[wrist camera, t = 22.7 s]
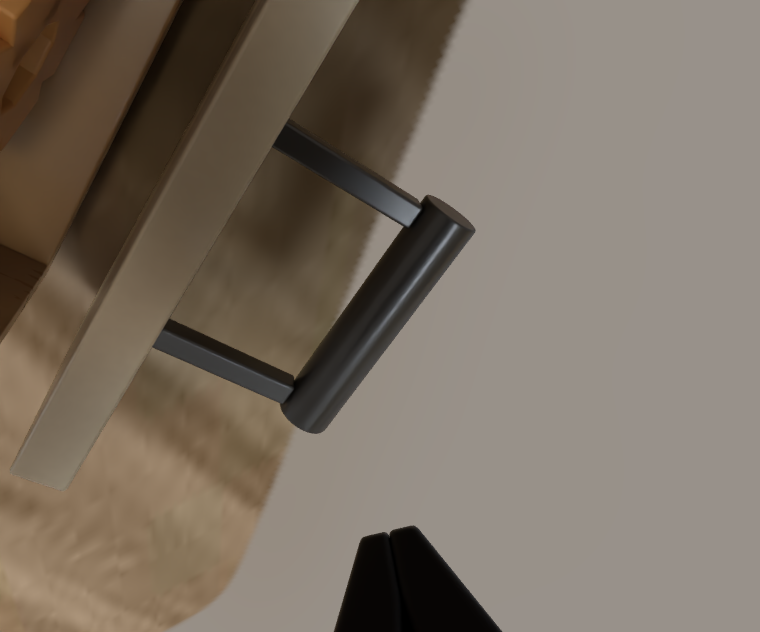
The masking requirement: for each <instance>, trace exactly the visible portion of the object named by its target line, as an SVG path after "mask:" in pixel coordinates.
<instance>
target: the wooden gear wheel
mask: <svg viewBox="0 0 760 632" xmlns="http://www.w3.org/2000/svg"><path fill="white" fill-rule="evenodd" d="M89 1H90V0H0V152H1V151H2V150H3V149H4V147H5V146H6V144H7V143H8V142H9V140H10V139H11V137H12V136H13V135H14V133H15V132H16V130H17V129H18V128H19V126H20V125H21V123H22V122H23V121H24V119H25V118H26V116H27V115H28V114H29V112H30V111H31V109H32V108H33V107H34V105H35V104H36V102H37V101H38V98H39V94H40V89H41V85H42V82H43V81H44V80H46V79H47V78H49V77H50V76H52V75H53V74H54V73H55V71H56V69H57V68H58V66H59V64H60V62H61V60H62V58H63V56H64V54H65V53H66V51H67V49H68V47H69V45H70V43H71V41H72V39H73V38H74V36H75V34H76V32H77V30H78V28H79V26H80V24H81V23H82V21H83V19H84V16H85V13H84V12H83V11H82V10H83V9H84V8H85V6H86V5H87V4H88V2H89Z"/></svg>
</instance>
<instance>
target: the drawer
mask: <svg viewBox="0 0 760 632" xmlns="http://www.w3.org/2000/svg"><path fill="white" fill-rule="evenodd" d="M182 2H183V0H90V1H89V2H88V4H87V5H86V6H85V8H84V9H83V10H82V11H83V12H84V13H85V16H84V19H83V21H82V23H81V24H80V26H79V28H78V30H77V32H76V34H75V36H74V38H73V39H72V41H71V43H70V45H69V47H68V49H67V51H66V53H65V54H64V56H63V58H62V60H61V62H60V64H59V66H58V68H57V69H56V71H55V73H54V74H53V75H52V76H50V77H49V78H47V79H46V80H44V81H43V82H42V85H41V89H40V94H39V98H38V101H37V102H36V104H35V105H34V107H33V108H32V109H31V111H30V112H29V114H28V115H27V116H26V118H25V119H24V121H23V122H22V123H21V125H20V126H19V128H18V129H17V130H16V132H15V133H14V135H13V136H12V137H11V139H10V140H9V142H8V143H7V144H6V146H5V147H4V149H3V150H2V151H1V152H0V343H1V342H2V340H3V339H4V337H5V336H6V334H7V333H8V331H9V330H10V328H11V327H12V325H13V324H14V322H15V321H16V319H17V318H18V316H19V315H20V313H21V312H22V310H23V309H24V307H25V306H26V304H27V303H28V301H29V300H30V298H31V297H32V295H33V294H34V292H35V291H36V289H37V288H38V286H39V284H40V283H41V282H42V280H43V279H44V277H45V276H46V274H47V272H48V270H49V268H50V266H51V264H52V262H53V260H54V258H55V256H56V254H57V252H58V250H59V248H60V246H61V244H62V242H63V240H64V238H65V236H66V234H67V232H68V230H69V228H70V226H71V224H72V222H73V220H74V218H75V216H76V214H77V212H78V210H79V208H80V206H81V204H82V202H83V200H84V198H85V196H86V194H87V192H88V190H89V188H90V186H91V184H92V182H93V180H94V178H95V176H96V174H97V172H98V170H99V168H100V166H101V164H102V162H103V160H104V158H105V156H106V154H107V152H108V150H109V148H110V146H111V144H112V142H113V140H114V138H115V136H116V134H117V132H118V130H119V128H120V126H121V124H122V122H123V120H124V118H125V116H126V114H127V112H128V110H129V108H130V106H131V104H132V102H133V100H134V98H135V96H136V94H137V92H138V90H139V88H140V86H141V84H142V82H143V80H144V78H145V76H146V74H147V72H148V70H149V68H150V66H151V64H152V62H153V60H154V58H155V56H156V54H157V52H158V50H159V48H160V46H161V44H162V42H163V40H164V38H165V36H166V34H167V32H168V30H169V28H170V26H171V24H172V22H173V20H174V18H175V16H176V14H177V12H178V10H179V8H180V6H181V4H182ZM358 2H359V0H255V2H254V4H253V6H252V8H251V9H250V11H249V13H248V15H247V17H246V19H245V21H244V22H243V24H242V26H241V28H240V30H239V32H238V34H237V35H236V37H235V39H234V41H233V43H232V45H231V46H230V48H229V50H228V52H227V54H226V56H225V58H224V59H223V61H222V63H221V65H220V67H219V69H218V71H217V72H216V74H215V76H214V78H213V80H212V82H211V84H210V85H209V87H208V89H207V91H206V93H205V95H204V96H203V98H202V100H201V102H200V104H199V106H198V108H197V109H196V111H195V113H194V115H193V117H192V119H191V121H190V122H189V124H188V126H187V128H186V130H185V132H184V134H183V135H182V137H181V139H180V141H179V143H178V145H177V146H176V148H175V150H174V152H173V154H172V156H171V158H170V159H169V161H168V163H167V165H166V167H165V169H164V171H163V172H162V174H161V176H160V178H159V180H158V182H157V184H156V185H155V187H154V189H153V191H152V193H151V195H150V196H149V198H148V200H147V202H146V204H145V206H144V208H143V209H142V211H141V213H140V215H139V217H138V219H137V221H136V222H135V224H134V226H133V228H132V230H131V232H130V233H129V235H128V237H127V239H126V241H125V243H124V245H123V246H122V248H121V250H120V252H119V254H118V256H117V258H116V259H115V261H114V263H113V265H112V267H111V269H110V271H109V272H108V274H107V276H106V278H105V280H104V282H103V283H102V285H101V287H100V289H99V291H98V293H97V295H96V296H95V298H94V300H93V302H92V304H91V306H90V308H89V309H88V311H87V313H86V315H85V317H84V319H83V321H82V323H81V325H80V327H79V329H78V332H77V334H76V336H75V338H74V340H73V342H72V344H71V346H70V348H69V350H68V352H67V354H66V356H65V358H64V360H63V362H62V364H61V366H60V368H59V370H58V372H57V374H56V376H55V378H54V380H53V382H52V384H51V387H50V389H49V391H48V393H47V395H46V397H45V399H44V401H43V403H42V405H41V407H40V409H39V411H38V413H37V415H36V417H35V419H34V421H33V423H32V425H31V427H30V429H29V431H28V433H27V435H26V437H25V439H24V442H23V444H22V446H21V448H20V450H19V452H18V454H17V456H16V458H15V460H14V462H13V464H12V466H11V468H10V473H11V474H12V475H15V476H18V477H21V478H24V479H27V480H30V481H33V482H36V483H39V484H42V485H45V486H48V487H51V488H54V489H57V490H60V491H65V490H66V489H67V488H68V487H69V485H70V484H71V482H72V480H73V478H74V477H75V475H76V473H77V472H78V470H79V468H80V467H81V465H82V463H83V462H84V460H85V458H86V457H87V455H88V453H89V452H90V450H91V448H92V447H93V445H94V443H95V442H96V440H97V438H98V437H99V435H100V433H101V432H102V430H103V428H104V427H105V425H106V423H107V422H108V420H109V418H110V417H111V415H112V413H113V412H114V410H115V408H116V407H117V405H118V403H119V402H120V400H121V398H122V396H123V395H124V393H125V391H126V390H127V388H128V386H129V385H130V383H131V381H132V380H133V378H134V376H135V375H136V373H137V371H138V370H139V368H140V366H141V365H142V363H143V361H144V360H145V358H146V356H147V355H148V353H149V351H150V350H151V348H152V347H153V348H155V349H158V350H160V351H162V352H164V353H167V354H169V355H171V356H174V357H176V358H178V359H180V360H183V361H185V362H187V363H190V364H192V365H194V366H196V367H199V368H201V369H203V370H206V371H208V372H210V373H212V374H215V375H217V376H219V377H222V378H224V379H226V380H228V381H231V382H233V383H235V384H238V385H240V386H242V387H244V388H247V389H249V390H251V391H254V392H256V393H258V394H260V395H263V396H265V397H267V398H270V399H272V400H274V401H276V402H279V403H280V407H281V410H282V412H283V414H284V415H285V417H286V418H287V419H288V420H289V421H290V422H291V423H292V424H294V425H295V426H296V427H298V428H300V429H301V430H303V431H306V432H309V433H314V434H317V433H321V432H323V431H324V430H325V429H326V428H327V427H328V425H329V424H330V423H331V421H332V420H333V419H334V417H335V416H336V415H337V413H338V412H339V410H340V409H341V408H342V407H343V405H344V404H345V403H346V402H347V400H348V399H349V397H350V396H351V395H352V394H353V392H354V391H355V390H356V388H357V387H358V386H359V384H360V383H361V382H362V380H363V379H364V378H365V377H366V375H367V374H368V373H369V371H370V370H371V369H372V367H373V366H374V365H375V363H376V362H377V361H378V359H379V358H380V357H381V355H382V354H383V353H384V351H385V350H386V349H387V347H388V346H389V345H390V344H391V342H392V341H393V340H394V338H395V337H396V336H397V334H398V333H399V332H400V330H401V329H402V328H403V326H404V325H405V324H406V322H407V321H408V320H409V319H410V317H411V316H412V315H413V313H414V312H415V311H416V309H417V308H418V307H419V305H420V304H421V303H422V301H423V300H424V299H425V297H426V296H427V295H428V293H429V292H430V291H431V290H432V288H433V287H434V286H435V284H436V283H437V282H438V280H439V279H440V278H441V276H442V275H443V274H444V272H445V271H446V270H447V268H448V267H449V266H450V265H451V263H452V262H453V261H454V259H455V258H456V257H457V255H458V254H459V253H460V251H461V250H462V249H463V247H464V246H465V245H466V243H467V242H468V241H469V240H470V238H471V237H472V236H473V234H474V233H475V228H474V227H473V225H472V224H471V223H470V222H469V221H468V220H467V219H466V218H465V217H463V216H462V215H461V214H460V213H459V212H458V211H456V210H455V209H454V208H452V207H451V206H449V205H448V204H446V203H445V202H443V201H442V200H440V199H438V198H436V197H434V196H431V195H426V196H425V197H424V199H423V200H422V201H421V203H419V201H418V199H416V198H415V197H413V196H412V195H410V194H409V193H407V192H405V191H403V190H402V189H401V188H399V187H397V186H396V185H394V184H393V183H391V182H389V181H388V180H386V179H385V178H383V177H382V176H380V175H378V174H377V173H375V172H374V171H372V170H370V169H369V168H367V167H366V166H364V165H362V164H361V163H359V162H358V161H356V160H355V159H353V158H351V157H350V156H348V155H347V154H345V153H343V152H342V151H340V150H339V149H337V148H335V147H334V146H332V145H331V144H329V143H328V142H326V141H324V140H323V139H321V138H320V137H318V136H316V135H315V134H313V133H312V132H310V131H308V130H307V129H305V128H304V127H302V126H301V125H299V124H297V123H296V122H294V121H293V120H291V119H289V117H290V115H291V114H292V112H293V110H294V109H295V107H296V105H297V104H298V102H299V100H300V99H301V97H302V95H303V94H304V92H305V90H306V89H307V87H308V85H309V84H310V82H311V80H312V79H313V77H314V75H315V74H316V72H317V70H318V68H319V67H320V65H321V63H322V62H323V60H324V58H325V57H326V55H327V53H328V52H329V50H330V48H331V47H332V45H333V43H334V42H335V40H336V38H337V37H338V35H339V33H340V32H341V30H342V28H343V27H344V25H345V23H346V22H347V20H348V18H349V17H350V15H351V13H352V12H353V10H354V8H355V7H356V5H357V3H358ZM271 147H273V148H275V149H276V150H278V151H280V152H281V153H283V154H284V155H286V156H288V157H289V158H291V159H293V160H294V161H296V162H298V163H299V164H301V165H303V166H304V167H306V168H308V169H309V170H311V171H313V172H314V173H316V174H318V175H319V176H321V177H323V178H324V179H326V180H328V181H329V182H331V183H333V184H334V185H336V186H337V187H339V188H341V189H342V190H344V191H346V192H347V193H349V194H351V195H352V196H354V197H356V198H357V199H359V200H361V201H362V202H364V203H366V204H367V205H369V206H371V207H372V208H374V209H376V210H377V211H379V212H381V213H382V214H384V215H385V216H387V217H389V218H390V219H392V220H394V221H395V222H397V223H399V224H401V225H402V226H404V227H403V228H402V230H401V231H400V233H399V234H398V235H397V237H396V238H395V239H394V241H393V242H392V244H391V245H390V247H389V248H388V249H387V251H386V252H385V253H384V255H383V256H382V258H381V259H380V260H379V262H378V263H377V265H376V266H375V268H374V269H373V270H372V272H371V273H370V275H369V276H368V277H367V279H366V280H365V282H364V283H363V284H362V286H361V287H360V289H359V290H358V291H357V293H356V294H355V296H354V297H353V298H352V300H351V301H350V303H349V304H348V305H347V307H346V308H345V310H344V311H343V312H342V314H341V315H340V317H339V318H338V319H337V321H336V322H335V324H334V325H333V327H332V328H331V329H330V331H329V332H328V334H327V335H326V336H325V338H324V339H323V341H322V342H321V343H320V345H319V346H318V348H317V349H316V350H315V352H314V353H313V355H312V356H311V357H310V359H309V360H308V362H307V363H306V364H305V366H304V367H303V369H302V370H301V371H300V373H299V374H298V376H297V377H296V379H295V380H294V376H293V375H291V374H289V373H287V372H284V371H282V370H280V369H278V368H276V367H274V366H271V365H269V364H267V363H265V362H263V361H260V360H258V359H256V358H254V357H252V356H250V355H247V354H245V353H243V352H241V351H239V350H237V349H234V348H232V347H230V346H228V345H226V344H223V343H221V342H219V341H217V340H215V339H213V338H210V337H208V336H206V335H204V334H202V333H200V332H197V331H195V330H193V329H191V328H189V327H187V326H184V325H182V324H180V323H178V322H176V321H173V320H171V319H169V318H170V316H171V314H172V313H173V311H174V309H175V308H176V306H177V304H178V303H179V301H180V299H181V298H182V296H183V294H184V293H185V291H186V289H187V288H188V286H189V284H190V283H191V281H192V279H193V278H194V276H195V274H196V273H197V271H198V269H199V268H200V266H201V264H202V263H203V261H204V259H205V258H206V256H207V254H208V253H209V251H210V249H211V248H212V246H213V244H214V243H215V241H216V239H217V238H218V236H219V234H220V232H221V231H222V229H223V227H224V226H225V224H226V222H227V221H228V219H229V217H230V216H231V214H232V212H233V211H234V209H235V207H236V206H237V204H238V202H239V201H240V199H241V197H242V196H243V194H244V192H245V191H246V189H247V187H248V186H249V184H250V182H251V181H252V179H253V177H254V176H255V174H256V172H257V171H258V169H259V167H260V166H261V164H262V162H263V161H264V159H265V157H266V156H267V154H268V152H269V150H270V149H271Z"/></svg>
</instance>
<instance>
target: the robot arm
mask: <svg viewBox="0 0 760 632" xmlns="http://www.w3.org/2000/svg"><path fill="white" fill-rule="evenodd" d="M334 632H502V631H501V630H500V628H499V627H498V626H497V625H496V624H495V622H494V621H493V620H492V619H491V617H490V616H489V615H488V614H487V612H486V611H485V610H484V609H483V607H482V606H481V605H480V604H479V603H478V601H477V600H476V599H475V598H474V596H473V595H472V594H471V593H470V591H469V590H468V589H467V588H466V587H465V586H464V584H463V583H462V582H461V580H460V579H459V578H458V577H457V575H456V574H455V573H454V572H453V571H452V569H451V568H450V567H449V566H448V564H447V563H446V562H445V561H444V560H443V558H442V557H441V556H440V555H439V554H438V552H437V551H436V550H435V548H434V547H433V546H432V545H431V543H430V542H429V541H428V540H427V539H426V537H425V536H424V535H423V534H422V533H421V531H420V530H419V529H418V528H417V527H415V526H408V527H403V528H400V529H395V530H392V531H391V532H390V537H389V535H388V534H387V533H385V532H382V533H378V534H374V535H369V536H366V537H363V538H362V539H361V541H360V543H359V547H358V550H357V554H356V557H355V561H354V564H353V568H352V571H351V574H350V578H349V581H348V585H347V588H346V592H345V595H344V599H343V602H342V606H341V609H340V612H339V616H338V619H337V623H336V626H335V630H334Z"/></svg>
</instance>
